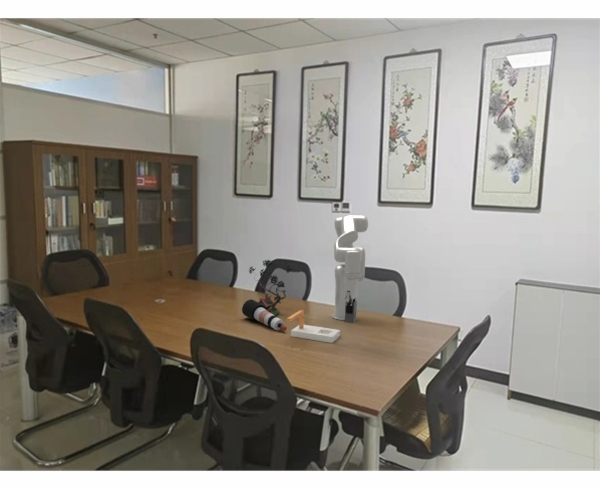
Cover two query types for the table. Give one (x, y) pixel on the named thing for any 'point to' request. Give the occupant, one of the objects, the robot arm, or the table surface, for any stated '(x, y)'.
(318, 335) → the socket block
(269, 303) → the bonsai tree
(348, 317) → the plug
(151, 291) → the table surface
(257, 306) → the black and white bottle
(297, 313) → the orange piece
